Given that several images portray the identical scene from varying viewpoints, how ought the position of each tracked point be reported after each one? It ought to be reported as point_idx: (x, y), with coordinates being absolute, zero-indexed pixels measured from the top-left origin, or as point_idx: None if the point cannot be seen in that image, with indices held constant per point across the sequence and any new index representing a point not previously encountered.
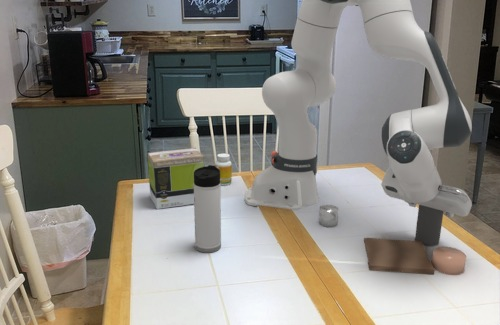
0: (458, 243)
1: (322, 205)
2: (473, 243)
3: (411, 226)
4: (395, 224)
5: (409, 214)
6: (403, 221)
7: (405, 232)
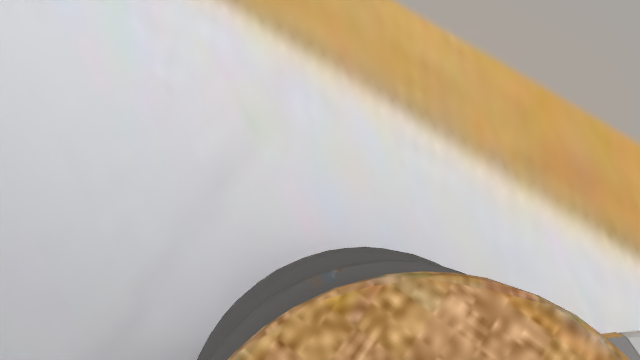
0: (502, 224)
1: None
2: (567, 148)
3: (123, 209)
4: (9, 269)
5: (10, 19)
6: (32, 170)
7: (139, 346)
